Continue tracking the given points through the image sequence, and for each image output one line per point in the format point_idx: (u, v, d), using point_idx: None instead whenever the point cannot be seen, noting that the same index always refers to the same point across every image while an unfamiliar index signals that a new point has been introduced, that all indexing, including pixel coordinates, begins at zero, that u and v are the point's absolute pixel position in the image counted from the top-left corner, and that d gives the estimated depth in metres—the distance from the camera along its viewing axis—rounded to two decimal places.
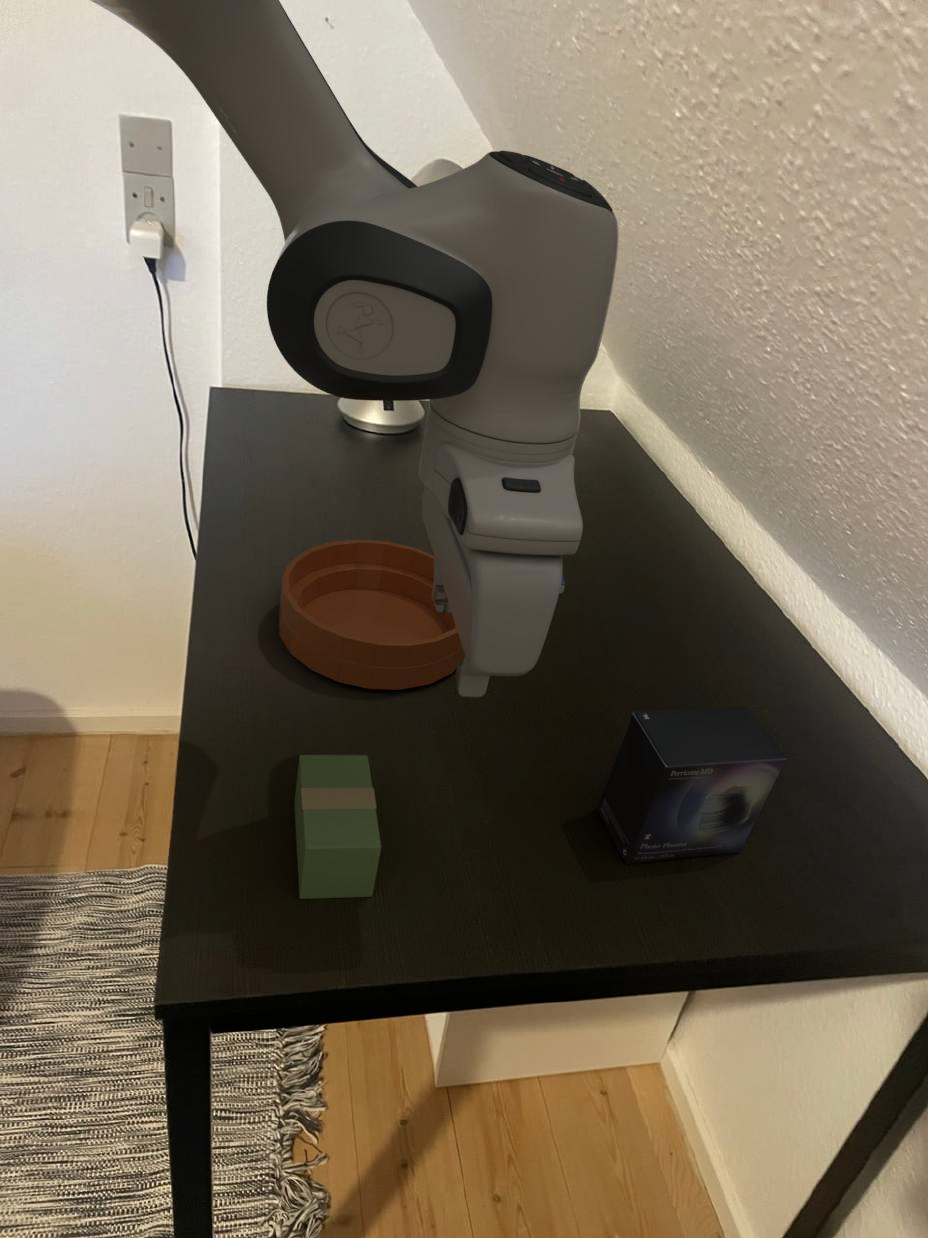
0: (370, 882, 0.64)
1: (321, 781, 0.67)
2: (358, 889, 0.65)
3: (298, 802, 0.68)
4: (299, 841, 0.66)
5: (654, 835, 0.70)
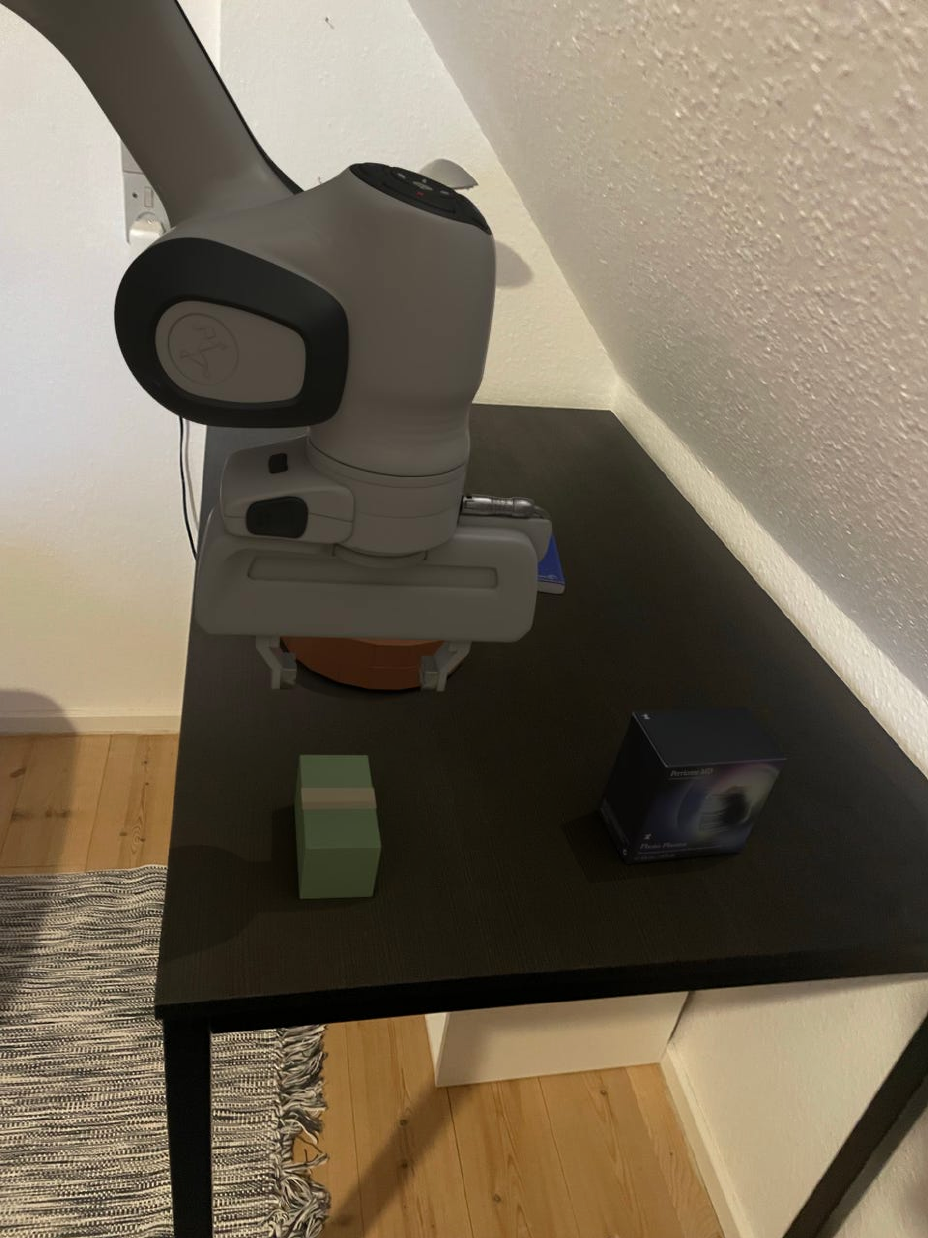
0: (370, 882, 0.64)
1: (321, 781, 0.67)
2: (358, 889, 0.65)
3: (298, 802, 0.68)
4: (299, 841, 0.66)
5: (654, 835, 0.70)
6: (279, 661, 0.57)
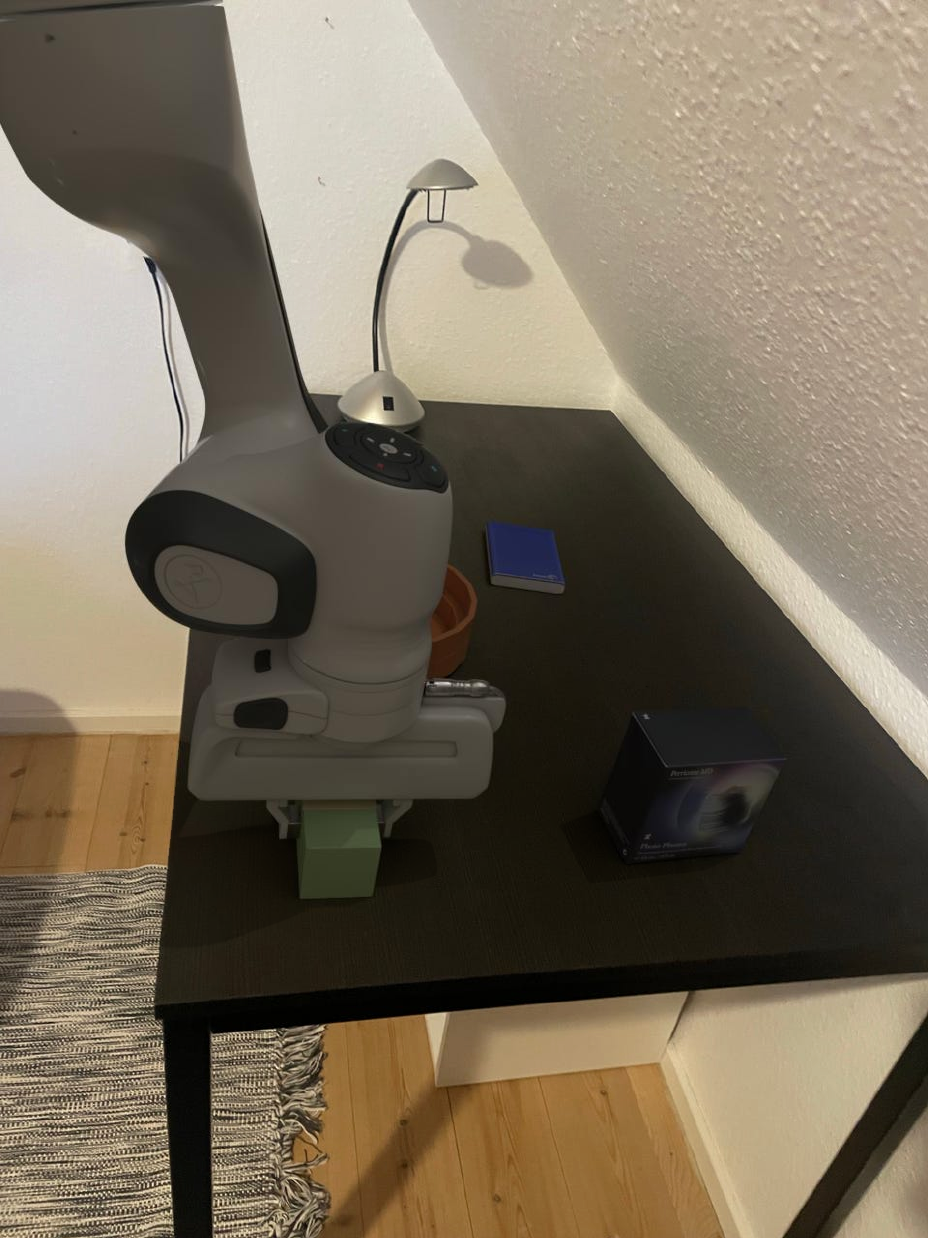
0: (370, 882, 0.64)
1: None
2: (358, 890, 0.65)
3: (298, 802, 0.68)
4: (299, 841, 0.66)
5: (654, 835, 0.70)
6: (286, 817, 0.65)
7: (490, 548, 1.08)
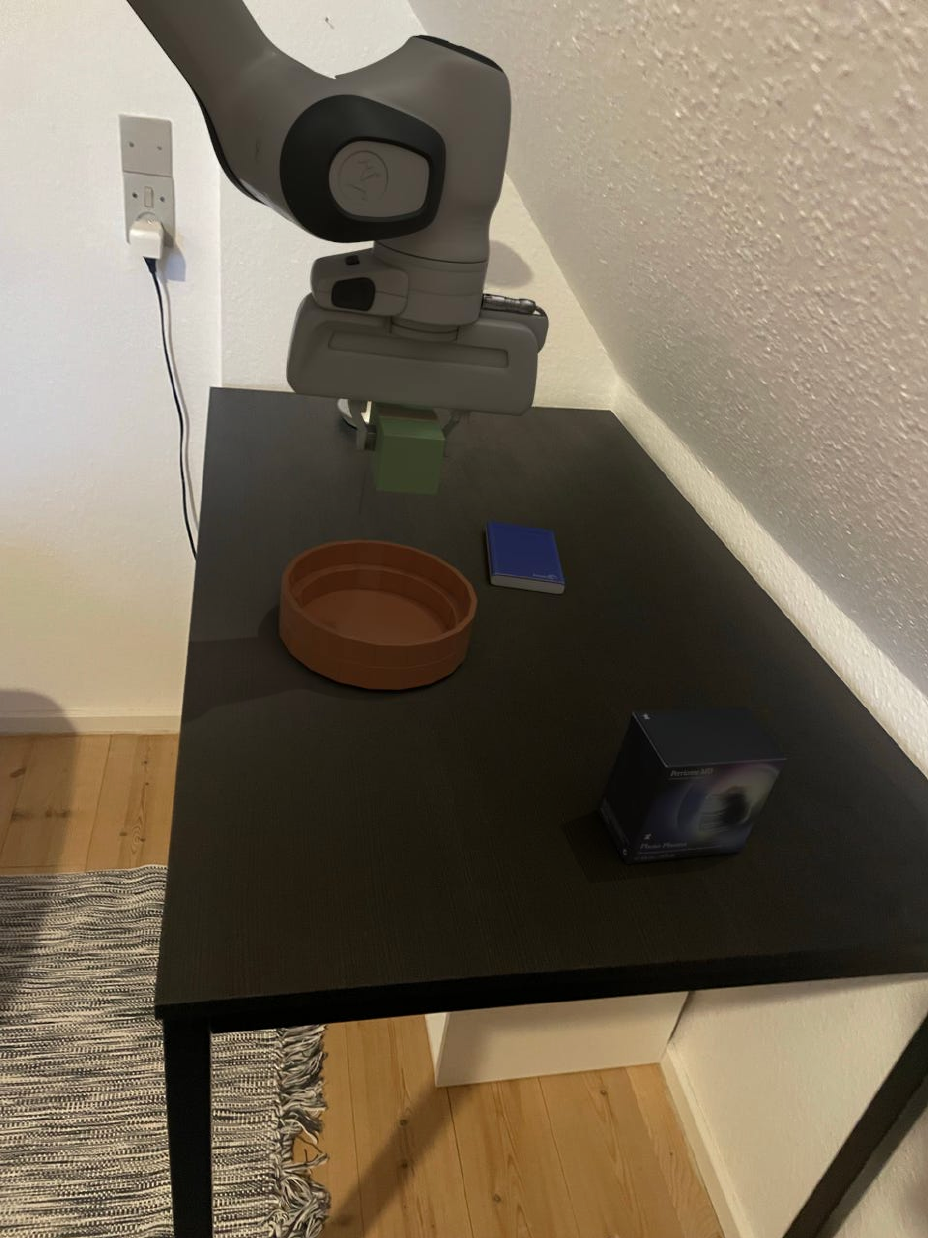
0: (435, 478, 0.77)
1: (392, 406, 0.79)
2: (425, 486, 0.77)
3: None
4: (374, 451, 0.79)
5: (654, 835, 0.70)
6: (365, 425, 0.77)
7: (490, 548, 1.08)
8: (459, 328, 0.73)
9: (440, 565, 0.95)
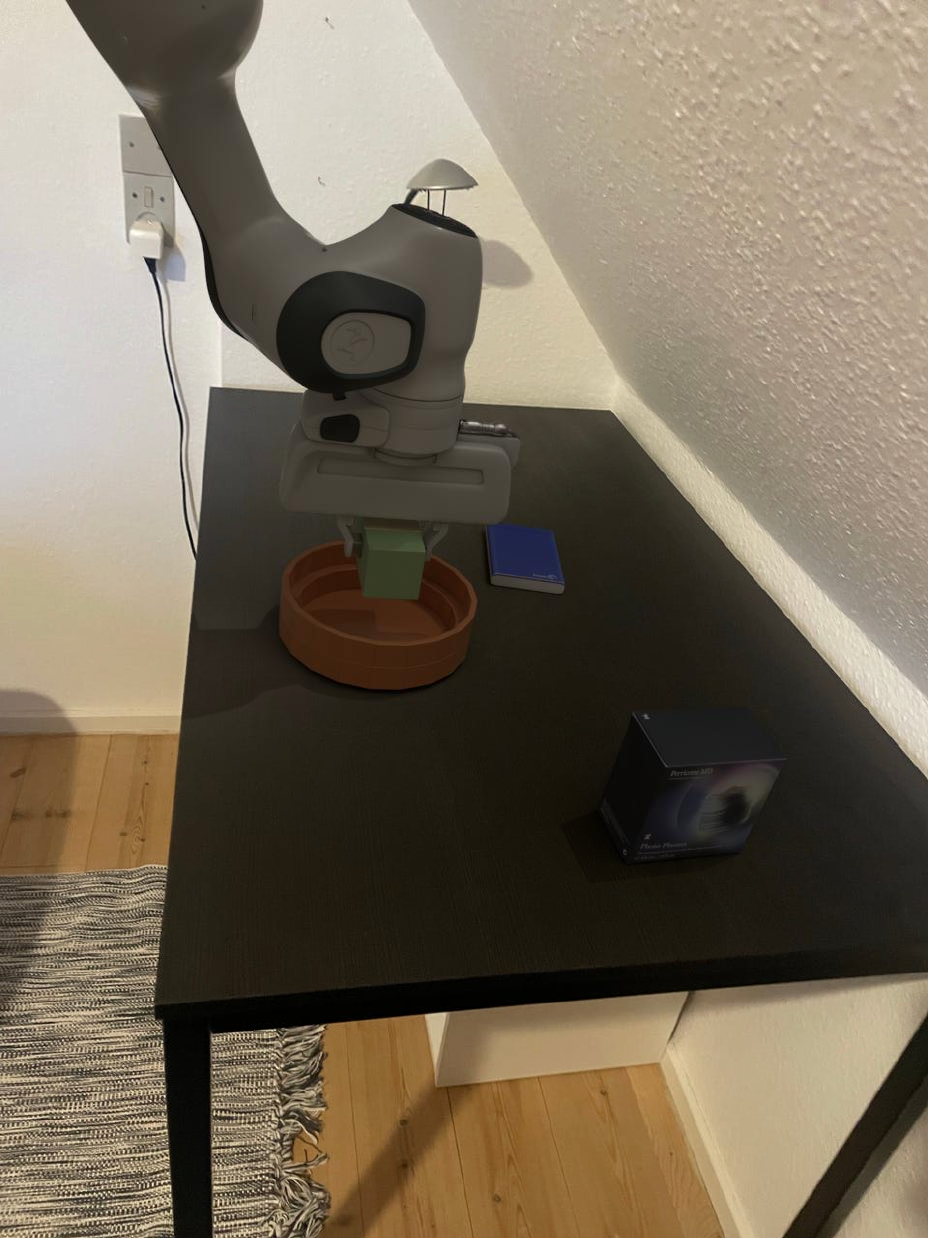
0: (416, 585, 0.84)
1: None
2: (407, 591, 0.84)
3: None
4: (361, 558, 0.85)
5: (654, 835, 0.70)
6: (352, 536, 0.84)
7: (490, 548, 1.08)
8: (438, 452, 0.80)
9: (440, 565, 0.95)
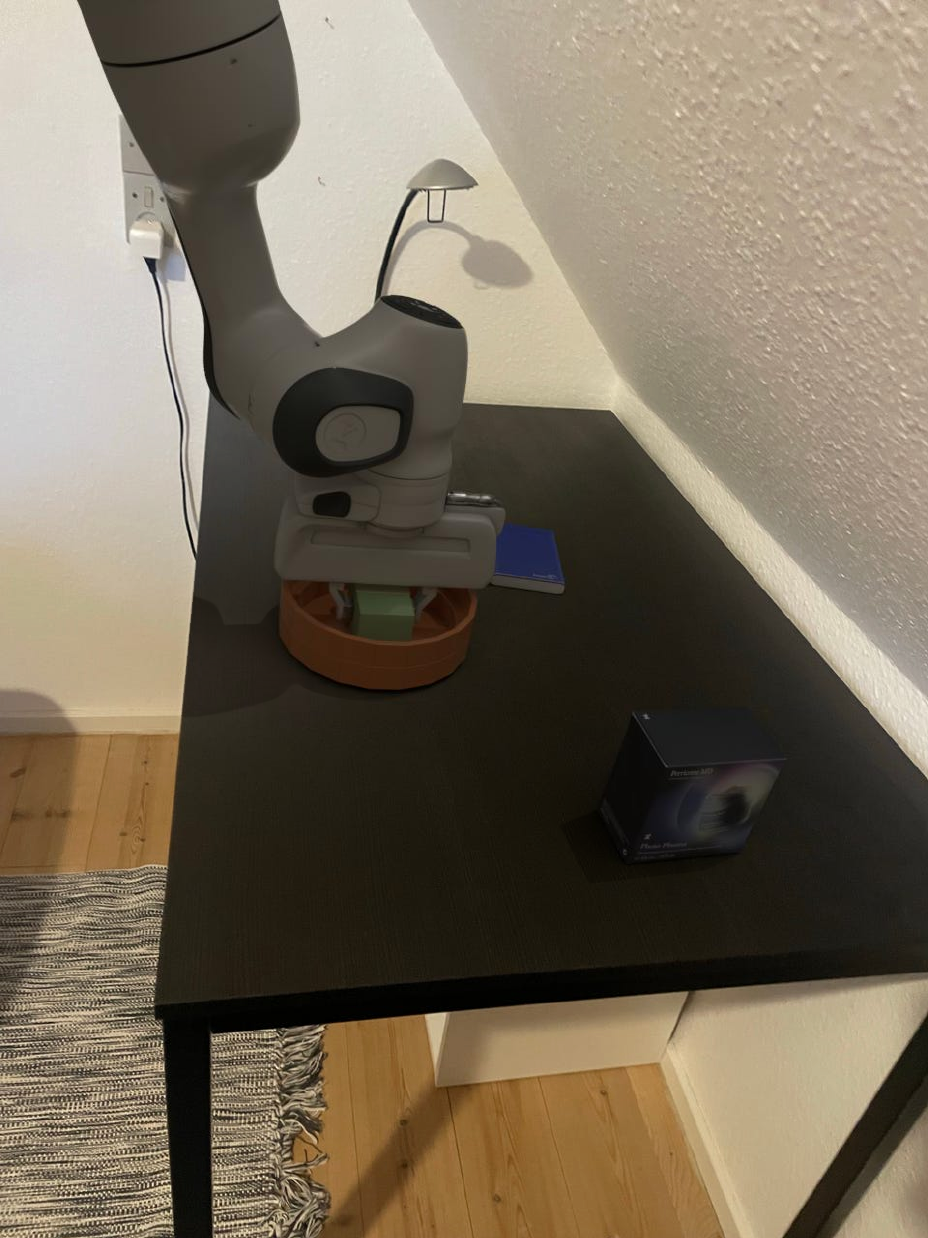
0: None
1: None
2: None
3: (351, 595, 0.91)
4: (353, 619, 0.89)
5: (654, 835, 0.70)
6: (343, 600, 0.88)
7: None
8: None
9: None
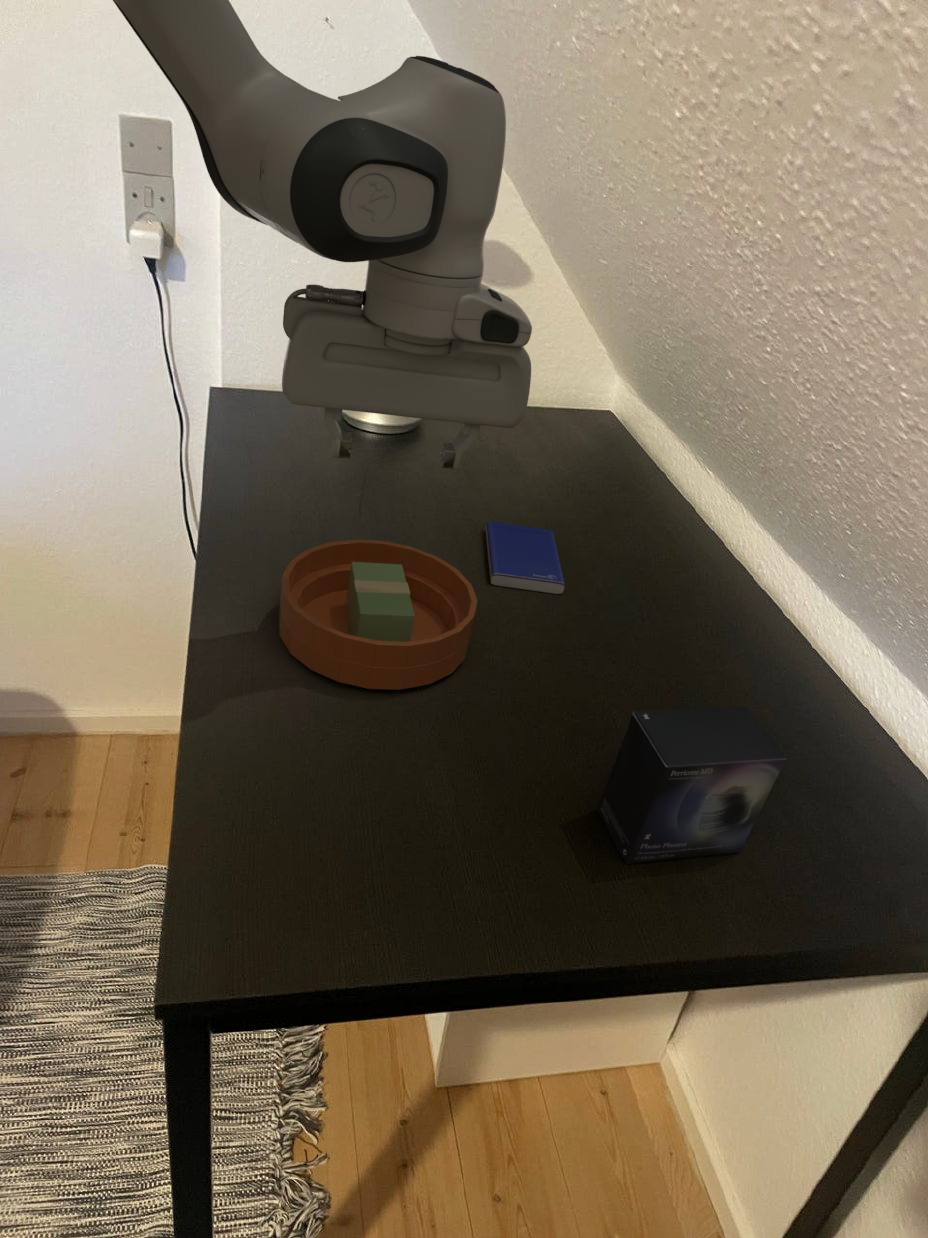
0: None
1: (369, 577, 0.90)
2: None
3: (351, 595, 0.91)
4: (353, 619, 0.89)
5: (654, 835, 0.70)
6: (455, 438, 0.82)
7: (489, 548, 1.08)
8: None
9: (440, 565, 0.95)
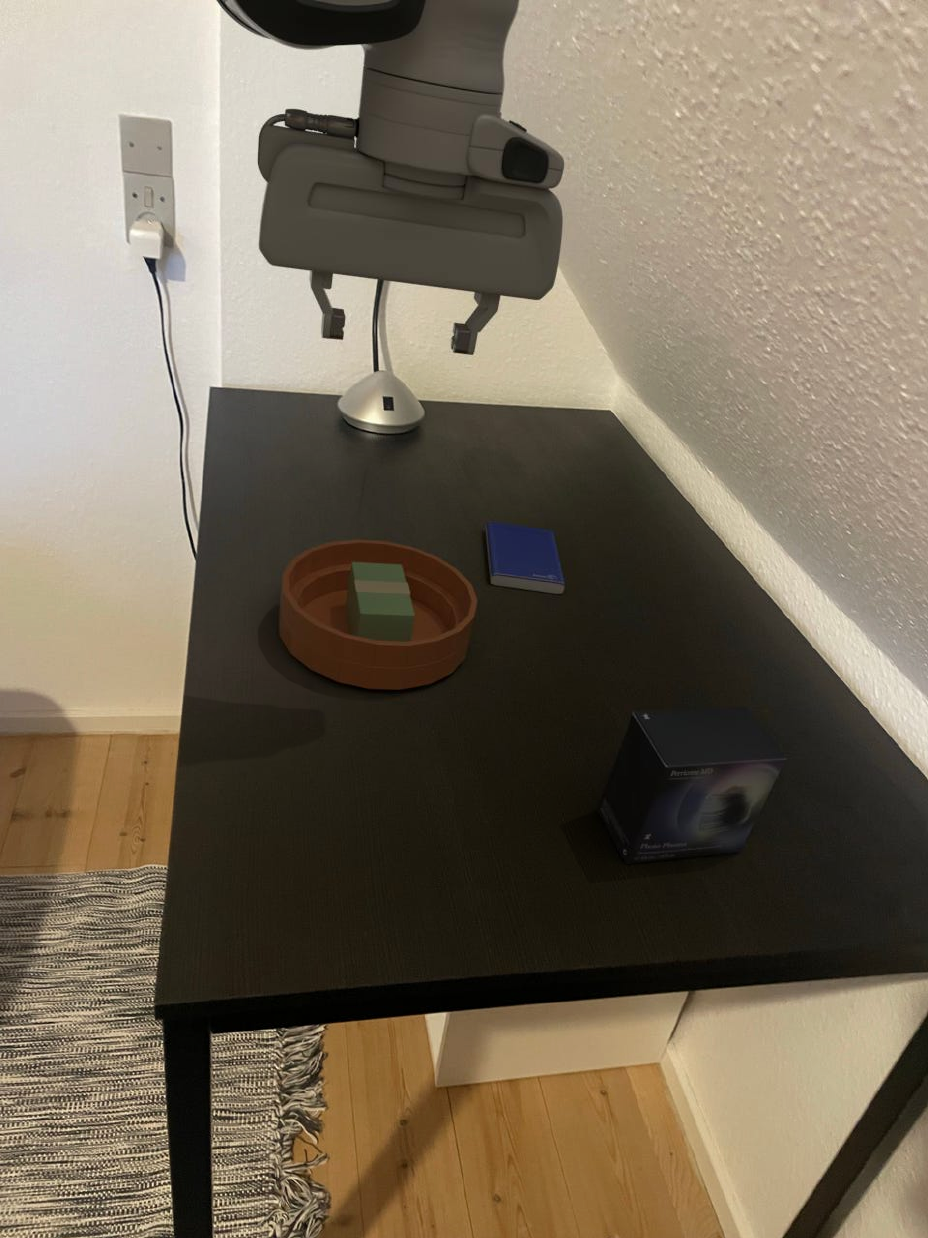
0: None
1: (369, 577, 0.90)
2: None
3: (351, 595, 0.91)
4: (353, 619, 0.89)
5: (654, 835, 0.70)
6: (469, 317, 0.68)
7: (489, 548, 1.08)
8: None
9: (440, 565, 0.95)
